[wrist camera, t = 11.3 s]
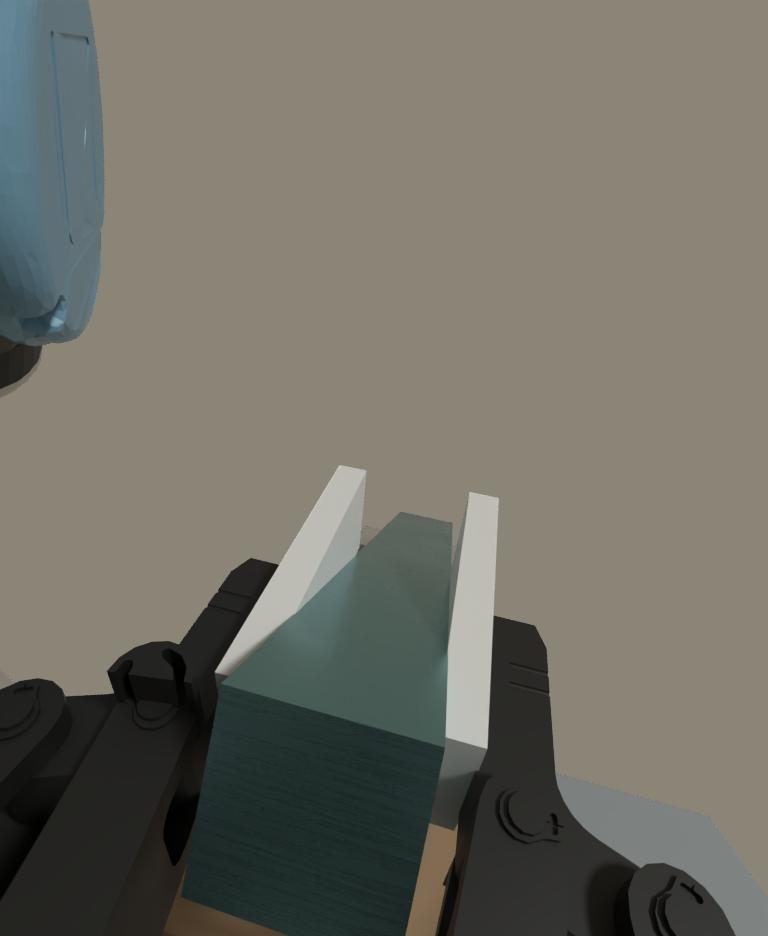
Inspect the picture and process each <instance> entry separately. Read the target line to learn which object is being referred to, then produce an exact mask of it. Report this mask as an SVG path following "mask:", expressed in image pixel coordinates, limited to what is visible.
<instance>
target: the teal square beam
mask: <svg viewBox="0 0 768 936" xmlns="http://www.w3.org/2000/svg"><path fill="white" fill-rule="evenodd" d="M456 548H457V546H453V545H452V523H450V522H445V521H440V520H436V519H432V518H427V517H422V516H418V515H413V514H408V513H404V512H400V513H399V514H398V515H397V516H396V517H395V518H394V519H393V520H392V521H391V522H389V523H388V524H387V525H386V526H385V527H384V528H383V529H382V530H381V529H377V528H372V527H368V526H366V527H364V528H363V529H362V530H361V535H360V546H359V549H358V551H357V554H356V556H355V557H354V558H352V559H351V560H350V561H349V562H348V563H347V564H346V565H345V566H344V567H343V568H342V569H341V570H340V571H339V572H338V573H337V574H336V575H335V576H334V577H333V578H332V579H331V580H330V581H329V582H328V583H327V584H326V585H325V586H323V587H322V588H321V589H320V590H319V591H318V592H317V593H316V594H315V595H314V596H313V597H312V598H311V599H310V600H309V601H308V602H307V603H306V604H305V605H304V606H303V607H302V608H301V609H300V610H299V611H298V612H297V613H295V614H293V615H292V616H291V617H290V618H289V619H288V620H287V621H286V622H285V623H284V624H283V625H282V626H281V627H280V628H279V629H278V630H277V631H275V632H274V633H273V634H272V635H271V636H270V637H269V638H268V639H267V640H266V641H265V642H264V643H263V644H262V645H261V646H260V647H259V648H258V649H257V650H256V651H255V652H253V653H252V654H251V655H250V656H249V657H248V658H247V659H246V660H245V661H244V662H243V663H242V664H241V665H240V666H239V667H238V668H237V669H236V670H235V671H234V672H233V673H232V674H230V675H229V676H228V677H227V678H226V679H225V680H224V681H223V682H222V683H221V686H220V691H219V696H218V702H217V707H216V712H215V718H214V723H213V728H212V734H211V739H210V744H209V749H208V755H207V760H206V765H205V771H204V776H203V781H202V787H201V792H200V797H199V802H198V808H197V813H196V818H195V824H194V829H193V834H192V840H191V845H190V850H189V855H188V861H187V866H186V871H185V877H184V882H183V887H182V893H181V898H184V899H187V900H190V901H193V902H195V903H198V904H201V905H204V906H207V907H210V908H212V909H215V910H218V911H221V912H224V913H226V914H229V915H232V916H235V917H238V918H240V919H243V920H246V921H249V922H252V923H254V924H257V925H260V926H263V927H266V928H268V929H271V930H274V931H277V932H280V933H282V934H285V935H288V936H406V931H407V926H408V921H409V917H410V912H411V907H412V903H413V898H414V893H415V888H416V884H417V879H418V874H419V869H420V865H421V860H422V855H423V851H424V846H425V841H426V836H427V832H428V827H429V822H430V817H431V813H432V808H433V803H434V799H435V794H436V789H437V784H438V780H439V775H440V770H441V765H442V761H443V756H444V751H445V740H446V709H447V678H448V653H447V649H448V622H449V596H450V575H451V569H452V564H453V560H454V556H455V552H456Z"/></svg>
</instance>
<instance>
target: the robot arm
mask: <svg viewBox="0 0 768 936" xmlns="http://www.w3.org/2000/svg"><path fill="white" fill-rule="evenodd" d="M103 218H104V149H103V124H102V108H101V95H100V84H99V71H98V62H97V53H96V46H95V39H94V31H93V25H92V18H91V12H90V7H89V2H88V0H0V398H1V397H3V396H5V395H7V394H9V393H10V392H12V391H14V390H16V389H17V388H18V387H19V386H21V385H22V384H24V383H25V382H26V381H27V380H28V379H29V378H30V377H31V376H32V374H33V373H34V372H35V371H36V369H37V367H38V365H39V363H40V360H41V354H42V345H45V344H49V343H62V342H67V341H71V340H73V339H76V338H77V337H78V336H80V334H81V333H82V332H83V331H84V329H85V327H86V326H87V324H88V322H89V320H90V317H91V314H92V310H93V306H94V302H95V298H96V293H97V287H98V281H99V274H100V251H101V232H100V229H101V227H102V225H103ZM365 481H366V470H361V469H357V468H352V467H347V466H342V465H340V466H339V467H338V469H337V470H336V472H335V474H334V475H333V477H332V479H331V480H330V482H329V484H328V485H327V487H326V488H325V490H324V492H323V493H322V495H321V497H320V498H319V500H318V502H317V503H316V505H315V507H314V508H313V510H312V512H311V513H310V515H309V517H308V518H307V520H306V522H305V523H304V525H303V527H302V528H301V530H300V532H299V533H298V535H297V537H296V538H295V540H294V542H293V543H292V545H291V547H290V548H289V550H288V551H287V553H286V555H285V556H284V558H283V560H282V562H281V563H280V565H277V564H273V563H269V562H265V561H261V560H257V559H253V558H250V559H249V560H247V561H246V562H244V563H243V564H241V565H240V566H239V567H237V568H236V569H234V570H233V571H231V573H230V574H229V575H228V577H227V578H226V580H225V581H224V583H223V584H222V585H221V587H220V588H219V591H218V593H216V594H215V595H214V596H213V598H212V599H211V601H210V602H209V604H208V607H207V608H205V609H204V610H203V612H202V613H201V615H200V616H199V617H198V619H197V620H196V622H195V623H194V624H193V626H192V627H191V629H190V630H189V631H188V633H187V634H186V636H185V637H184V638H183V640H182V641H181V643H180V644H179V645H178V644H176V643H173V642H170V641H164V642H150V643H147V644H144V645H141V646H138V647H135V648H133V649H132V650H130V651H129V652H127V653H126V654H124V655H122V656H121V657H119V658H118V659H117V661H116V662H115V663H114V664H113V665H112V666H111V667H110V668H109V670H108V671H107V672H108V676H109V679H110V681H111V684H112V687H113V690H114V693H113V694H105V695H86V696H67V697H65V695H64V693H63V690H62V689H61V688H60V687H59V686H58V685H56V684H55V683H54V682H53V681H49V680H44V679H39V678H38V679H31V680H24V681H19V682H17V683H14V682H13V681H12V680H11V678H10V677H9V676H8V675H7V674H5V673H4V672H3V671H2V670H1V669H0V936H162V933H163V931H164V928H165V925H166V922H167V919H168V916H169V914H170V911H171V908H172V905H173V902H174V899H175V897H176V894H177V891H178V888H179V885H180V882H181V879H182V877H183V874H184V871H185V868H186V865H187V861H188V855H189V850H190V845H191V840H192V834H193V829H194V824H195V818H196V813H197V808H198V802H199V797H200V792H201V787H202V781H203V776H204V771H205V765H206V760H207V755H208V749H209V744H210V739H211V734H212V728H213V723H214V718H215V712H216V707H217V702H218V696H219V691H220V686H221V683H222V682H223V681H224V680H225V679H226V678H227V677H228V676H229V675H230V674H232V673H233V672H234V671H235V670H236V669H237V668H238V667H239V666H240V665H241V664H242V663H243V662H244V661H245V660H246V659H247V658H248V657H249V656H250V655H251V654H252V653H253V652H255V651H256V650H257V649H258V648H259V647H260V646H261V645H262V644H263V643H264V642H265V641H266V640H267V639H268V638H269V637H270V636H271V635H272V634H273V633H274V632H275V631H277V630H278V629H279V628H280V627H281V626H282V625H283V624H284V623H285V622H286V621H287V620H288V619H289V618H290V617H291V616H292V615H293V614H295V613H297V612H298V611H299V610H300V609H301V608H302V607H303V606H304V605H305V604H306V603H307V602H308V601H309V600H310V599H311V598H312V597H313V596H314V595H315V594H316V593H317V592H318V591H319V590H320V589H321V588H322V587H323V586H325V585H326V584H327V583H328V582H329V581H330V580H331V579H332V578H333V577H334V576H335V575H336V574H337V573H338V572H339V571H340V570H341V569H342V568H343V567H344V566H345V565H346V564H347V563H348V562H349V561H350V560H351V559H352V558H354V557H355V556H356V554H357V551H358V549H359V546H360V535H361V524H362V514H363V503H364V492H365ZM498 501H499V499H498V498H496V497H491V496H486V495H481V494H477V493H472V492H470V493H469V497H468V501H467V505H466V510H465V514H464V518H463V522H462V526H461V531H460V535H459V539H458V543H457V548H456V552H455V556H454V560H453V564H452V569H451V575H450V596H449V622H448V649H447V653H448V678H447V709H446V740H445V751H444V756H443V761H442V765H441V770H440V775H439V780H438V784H437V789H436V794H435V799H434V803H433V808H432V813H431V817H430V822H429V823H430V824H434V825H437V826H440V827H443V828H447V829H450V830H453V831H455V828H456V826H457V823H458V830H457V842H456V853H455V856H454V858H453V861H452V863H451V865H450V868H449V870H448V873H447V875H446V877H445V880H444V882H443V884H442V885H444V886H446V887H445V892H444V897H443V901H442V906H441V910H440V915H439V919H438V924H437V929H436V933H435V936H736V935H735V933H734V931H733V929H732V927H731V925H730V923H729V921H728V919H727V917H726V915H725V913H724V911H723V909H722V908H721V907H720V906H719V904H718V903H717V902H716V901H715V899H714V898H713V897H712V896H711V895H710V893H709V892H708V891H707V890H706V888H705V887H704V886H702V885H701V884H700V883H699V882H697V881H696V880H695V879H694V878H692V877H691V876H690V875H689V874H687V873H686V872H685V871H683V870H680V869H678V868H676V867H673V866H671V865H668V864H666V863H651V864H646V865H644V866H643V867H642V868H640V867H639V866H637V865H636V864H634V863H633V862H631V861H630V860H628V859H627V858H625V857H624V856H622V855H621V854H619V853H618V852H616V851H615V850H613V849H612V848H610V847H609V846H607V845H606V844H604V843H603V842H601V841H600V840H598V839H597V838H596V837H594V836H593V835H592V834H591V833H590V832H588V831H587V830H586V829H585V828H584V827H583V826H582V825H581V824H580V823H579V822H578V821H577V819H576V818H575V817H574V816H573V815H572V813H571V812H570V810H569V808H568V807H567V805H566V804H565V802H564V800H563V798H562V795H561V793H560V790H559V788H558V785H557V779H556V774H555V763H554V749H553V735H552V722H551V707H550V697H549V679H548V676H547V674H548V664H547V650H546V647H545V645H544V643H543V641H542V639H541V637H540V635H539V633H538V631H537V629H536V627H535V626H534V625H530V624H526V623H522V622H517V621H514V620H510V619H505V618H501V617H497V616H493V612H494V611H493V610H494V591H495V590H494V589H495V568H496V566H495V565H496V546H497V524H498Z"/></svg>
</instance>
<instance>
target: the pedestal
mask: <svg viewBox="0 0 768 936" xmlns="http://www.w3.org/2000/svg"><path fill="white" fill-rule="evenodd" d="M555 774H556V779H557V785H558V788H559V790H560V793H561V795H562V798H563V800H564V802H565V804H566V805H567V807H568V808H569V810H570V812H571V813H572V815H573V816H574V817H575V818H576V819H577V821H578V822H579V823H580V824H581V825H582V826H583V827H584V828H585V829H586V830H587V831H588V832H590V833H591V834H592V835H593V836H594V837H596V838H597V839H598V840H600V841H601V842H603V843H604V844H606V845H607V846H609V847H610V848H612V849H613V850H615V851H616V852H618V853H619V854H621V855H622V856H624V857H625V858H627V859H628V860H630V861H631V862H633V863H634V864H636V865H637V866H639V867H640V868H642V867H643V866H644V865H646V864H651V863H666V864H668V865H671V866H673V867H676V868H678V869H680V870H683V871H685V872H686V873H687V874H689V875H690V876H691V877H692V878H694V879H695V880H696V881H697V882H699V883H700V884H701V885H702V886H704V887H705V888H706V890H707V891H708V892H709V893H710V895H711V896H712V897H713V898H714V899H715V901H716V902H717V903H718V904H719V906H720V907H721V908H722V909H723V911H724V913H725V915H726V917H727V919H728V921H729V923H730V925H731V927H732V929H733V931H734V933H735V935H736V936H768V898H767V897H766V895H765V894H764V893H763V891H762V890H761V888H760V887H759V885H758V884H757V883H756V881H755V880H754V878H753V877H752V876H751V874H750V873H749V871H748V870H747V869H746V867H745V866H744V864H743V863H742V862H741V860H740V859H739V857H738V856H737V855H736V853H735V852H734V850H733V849H732V848H731V846H730V845H729V843H728V842H727V841H726V839H725V838H724V836H723V835H722V834H721V832H720V831H719V829H718V828H717V827H716V825H715V824H714V822H713V821H712V820H711V818H710V817H709V816H706V815H703V814H699V813H696V812H692V811H689V810H685V809H681V808H678V807H674V806H671V805H667V804H664V803H660V802H657V801H653V800H650V799H646V798H643V797H639V796H635V795H632V794H629V793H625V792H621V791H618V790H615V789H611V788H607V787H604V786H600V785H597V784H594V783H590V782H587V781H583V780H579V779H576V778H572V777H569V776H565V775H562V774H558V773H555Z"/></svg>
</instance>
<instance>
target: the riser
mask: <svg viewBox="0 0 768 936" xmlns="http://www.w3.org/2000/svg"><path fill="white" fill-rule="evenodd" d="M457 830H458V823H457V826H456V828H455V831H453V830H450V829H447V828H443V827H440V826H437V825H434V824H430V823H429V827H428V832H427V836H426V841H425V846H424V851H423V855H422V860H421V865H420V869H419V874H418V879H417V884H416V888H415V893H414V898H413V903H412V907H411V912H410V917H409V921H408V926H407V931H406V936H435V933H436V929H437V924H438V919H439V915H440V910H441V906H442V901H443V897H444V892H445V887H446V886H444V885H442V884H443V882H444V880H445V877H446V875H447V873H448V870H449V868H450V865H451V863H452V861H453V858H454V856H455V853H456V842H457ZM186 866H187V865H186ZM185 871H186V868H185ZM185 871H184V874H183V877H182V879H181V882H180V885H179V888H178V891H177V894H176V897H175V899H174V902H173V905H172V908H171V911H170V914H169V916H168V919H167V922H166V925H165V928H164V931H163V933H162V936H288V935H285V934H282V933H280V932H277V931H274V930H271V929H268V928H266V927H263V926H260V925H257V924H254V923H252V922H249V921H246V920H243V919H240V918H238V917H235V916H232V915H229V914H226V913H224V912H221V911H218V910H215V909H212V908H210V907H207V906H204V905H201V904H198V903H195V902H193V901H190V900H187V899H184V898H181V893H182V887H183V882H184V877H185Z"/></svg>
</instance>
